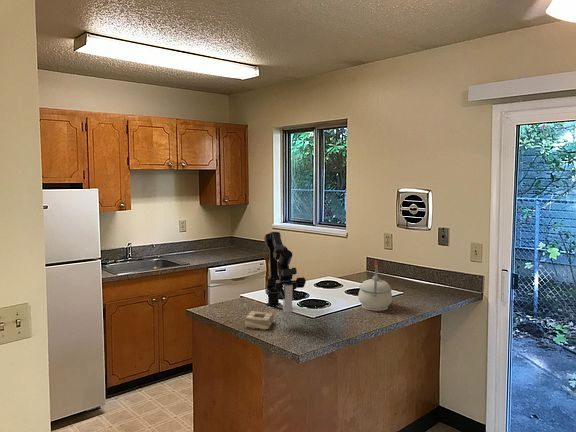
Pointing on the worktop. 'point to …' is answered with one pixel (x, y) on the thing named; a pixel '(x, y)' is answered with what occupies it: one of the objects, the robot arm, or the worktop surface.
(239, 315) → the worktop surface
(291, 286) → the square bit
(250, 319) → the socket block
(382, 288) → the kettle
